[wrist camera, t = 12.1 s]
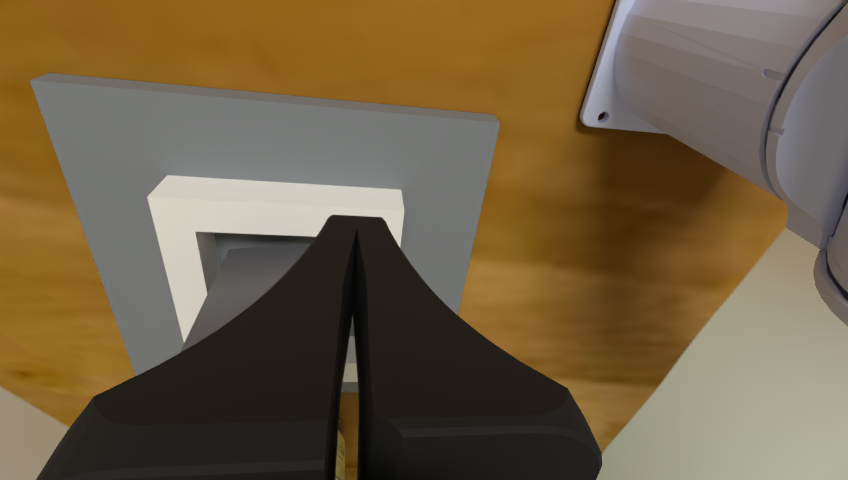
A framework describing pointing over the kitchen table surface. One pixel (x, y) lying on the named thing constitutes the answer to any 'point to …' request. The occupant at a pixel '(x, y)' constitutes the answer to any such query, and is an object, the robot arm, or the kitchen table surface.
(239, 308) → the plug
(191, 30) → the kitchen table surface
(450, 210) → the socket
